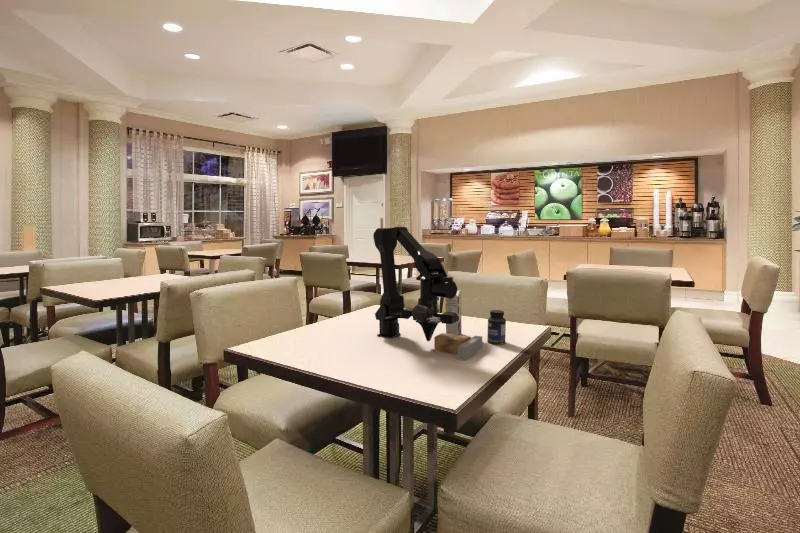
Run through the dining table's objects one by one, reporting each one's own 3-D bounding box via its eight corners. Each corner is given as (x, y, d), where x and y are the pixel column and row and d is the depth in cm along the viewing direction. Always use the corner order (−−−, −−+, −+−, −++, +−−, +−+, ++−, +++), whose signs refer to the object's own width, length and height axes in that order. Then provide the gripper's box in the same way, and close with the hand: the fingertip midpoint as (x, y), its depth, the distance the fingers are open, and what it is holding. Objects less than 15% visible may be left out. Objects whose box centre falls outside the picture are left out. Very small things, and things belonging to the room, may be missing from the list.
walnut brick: (434, 352, 154) (434, 336, 153) (442, 347, 159) (442, 333, 159) (463, 356, 149) (463, 340, 148) (470, 351, 154) (470, 336, 154)
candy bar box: (448, 333, 178) (448, 289, 176) (461, 333, 177) (462, 290, 175) (445, 340, 167) (445, 294, 166) (459, 341, 166) (459, 295, 165)
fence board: (458, 359, 145) (458, 346, 145) (475, 347, 158) (475, 335, 158) (465, 360, 144) (465, 347, 144) (482, 348, 157) (482, 336, 157)
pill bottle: (483, 342, 164) (484, 311, 163) (493, 339, 169) (493, 308, 168) (499, 345, 160) (500, 313, 159) (508, 342, 164) (509, 311, 163)
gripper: (392, 295, 154) (392, 342, 156) (445, 301, 145) (444, 350, 147) (408, 291, 164) (408, 335, 165) (458, 295, 155) (458, 342, 156)
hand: (428, 340), depth 158 cm, fingers closed
